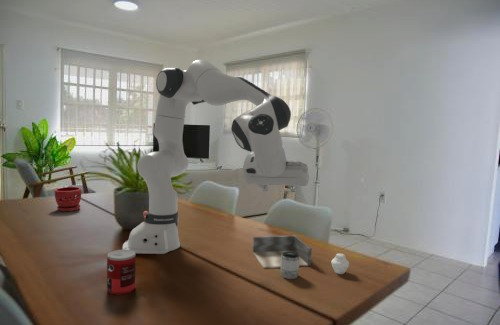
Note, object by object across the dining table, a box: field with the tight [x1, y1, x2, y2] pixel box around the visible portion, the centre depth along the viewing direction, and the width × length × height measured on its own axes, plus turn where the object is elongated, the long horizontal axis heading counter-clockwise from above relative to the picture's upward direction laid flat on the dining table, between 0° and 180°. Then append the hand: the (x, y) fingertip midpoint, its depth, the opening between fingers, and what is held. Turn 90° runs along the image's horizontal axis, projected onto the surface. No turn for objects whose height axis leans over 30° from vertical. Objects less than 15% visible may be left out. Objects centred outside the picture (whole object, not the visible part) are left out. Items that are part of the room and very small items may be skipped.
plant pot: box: [54, 186, 82, 212], centre depth 194 cm, size 13×13×12 cm
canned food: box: [106, 248, 137, 296], centre depth 103 cm, size 8×8×11 cm
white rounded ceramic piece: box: [331, 253, 350, 275], centre depth 123 cm, size 6×6×7 cm
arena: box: [252, 234, 313, 270], centre depth 134 cm, size 18×16×7 cm
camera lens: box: [279, 252, 300, 280], centre depth 119 cm, size 6×6×8 cm
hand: (279, 190), depth 113 cm, fingers open, 8 cm apart
